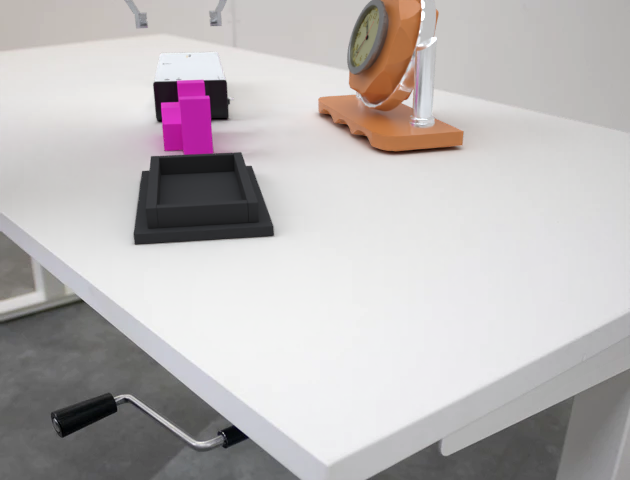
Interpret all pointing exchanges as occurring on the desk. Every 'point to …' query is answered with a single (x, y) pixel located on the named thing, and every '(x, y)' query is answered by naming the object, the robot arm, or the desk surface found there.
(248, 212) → the socket pad
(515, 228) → the desk surface
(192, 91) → the toy block
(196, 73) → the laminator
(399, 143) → the desk clock
